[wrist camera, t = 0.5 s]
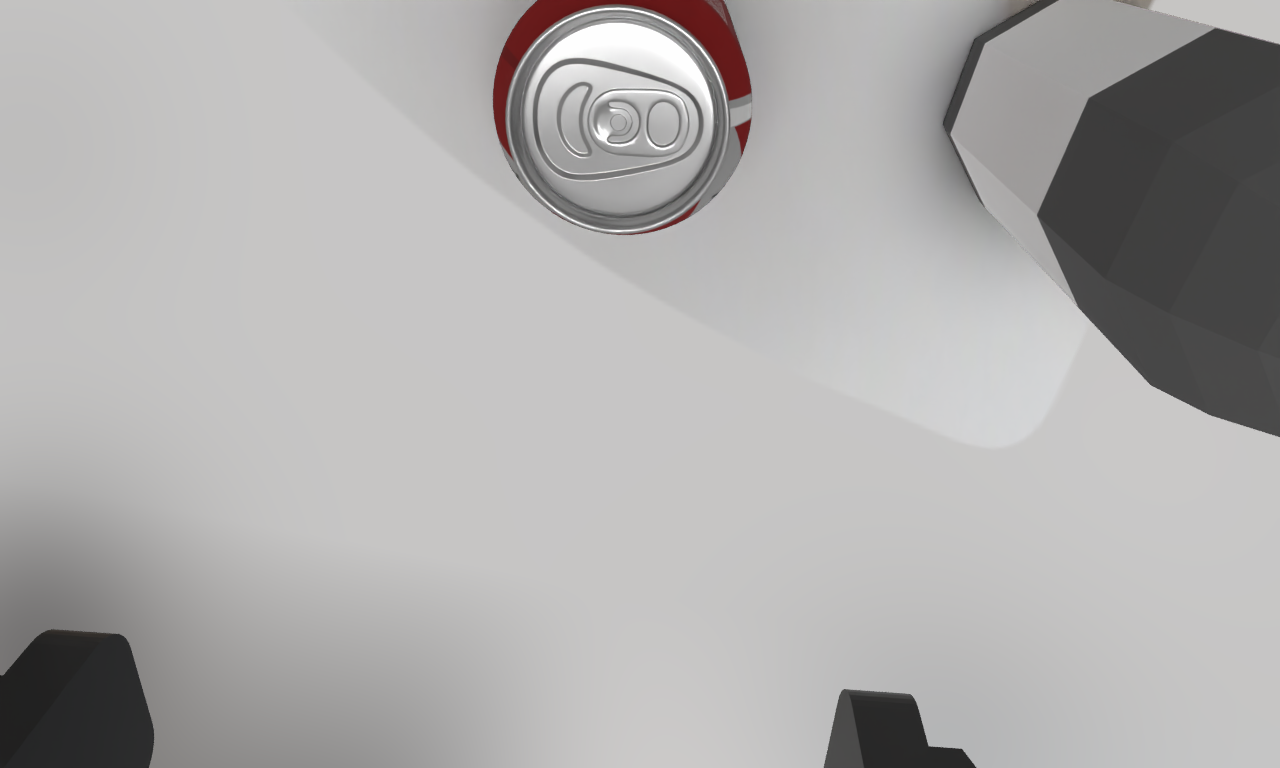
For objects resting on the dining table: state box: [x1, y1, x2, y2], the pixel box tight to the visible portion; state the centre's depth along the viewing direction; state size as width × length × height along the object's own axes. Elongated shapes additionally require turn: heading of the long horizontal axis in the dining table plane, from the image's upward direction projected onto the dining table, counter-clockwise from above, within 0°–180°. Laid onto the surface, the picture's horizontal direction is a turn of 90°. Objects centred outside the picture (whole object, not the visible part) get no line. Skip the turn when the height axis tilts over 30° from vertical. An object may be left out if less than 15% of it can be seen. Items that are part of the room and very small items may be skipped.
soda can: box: [493, 0, 752, 235], centre depth 28 cm, size 7×7×12 cm
